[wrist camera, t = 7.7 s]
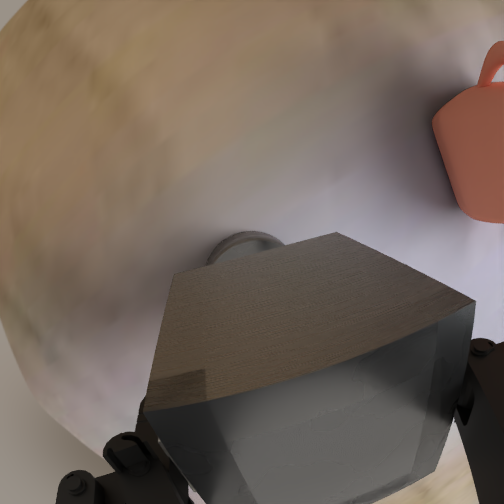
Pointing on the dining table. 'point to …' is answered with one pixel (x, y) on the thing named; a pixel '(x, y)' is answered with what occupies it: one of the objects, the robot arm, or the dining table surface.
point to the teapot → (476, 142)
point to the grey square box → (308, 374)
